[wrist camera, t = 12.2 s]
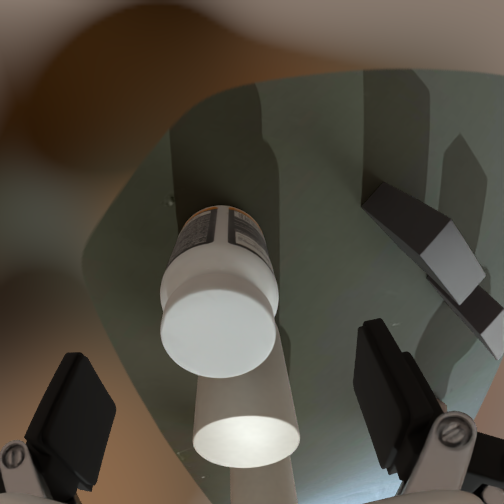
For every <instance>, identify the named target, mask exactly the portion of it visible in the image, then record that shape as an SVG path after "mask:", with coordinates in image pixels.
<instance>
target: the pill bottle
mask: <svg viewBox="0 0 504 504" xmlns="http://www.w3.org/2000/svg"><path fill="white" fill-rule="evenodd" d="M160 298H161V305H162V309H163V316H162V321H161V328H160V333H161V340H162V343H163V346H164V348H165V350H166V351H167V353H168V354H169V356H170V357H171V358H172V359H173V360H174V361H175V362H176V363H177V364H178V365H180V366H181V367H182V368H184V369H186V370H188V371H190V372H192V373H195V374H197V375H201V376H205V377H211V378H228V377H234V376H238V375H242V374H244V373H247V372H249V371H251V370H253V369H254V368H256V367H257V366H259V365H260V364H261V363H262V362H263V361H264V360H265V359H266V358H267V357H268V356H269V354H270V353H271V351H272V349H273V346H274V343H275V339H276V325H275V319H274V317H275V315H276V312H277V308H278V301H279V294H278V286H277V281H276V278H275V275H274V271H273V268H272V264H271V261H270V258H269V253H268V249H267V246H266V242H265V238H264V236H263V233H262V231H261V229H260V227H259V225H258V224H257V222H256V221H255V220H254V219H253V218H252V217H251V216H250V215H248V214H247V213H246V212H244V211H242V210H240V209H237V208H235V207H231V206H225V205H217V206H211V207H207V208H205V209H202V210H200V211H198V212H197V213H195V214H194V215H193V216H191V217H190V218H189V220H188V221H187V222H186V223H185V225H184V226H183V228H182V230H181V232H180V234H179V236H178V239H177V241H176V244H175V246H174V249H173V251H172V254H171V257H170V259H169V262H168V264H167V267H166V270H165V273H164V275H163V278H162V282H161V288H160Z"/></svg>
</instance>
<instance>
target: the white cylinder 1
mask: <svg viewBox="0 0 504 504" xmlns="http://www.w3.org/2000/svg"><path fill="white" fill-rule="evenodd" d="M275 325H276V323H275ZM299 442H300V433H299V428H298V423H297V418H296V413H295V408H294V403H293V398H292V393H291V388H290V383H289V378H288V373H287V368H286V364H285V359H284V354H283V349H282V344H281V339H280V335H279V330H278V327H277V325H276V339H275V343H274V346H273V349H272V351H271V353H270V354H269V356H268V357H267V358H266V359H265V360H264V361H263V362H262V363H261V364H260V365H259V366H257V367H256V368H254V369H253V370H251V371H249V372H247V373H244V374H242V375H238V376H234V377H228V378H211V377H205V376H201V375H198V383H197V394H196V405H195V417H194V429H193V446H194V448H195V450H196V451H197V452H198V454H199V455H201V456H202V457H203V458H205V459H206V460H208V461H210V462H213V463H215V464H218V465H222V466H227V467H234V468H253V467H260V466H265V465H269V464H272V463H275V462H278V461H280V460H282V459H284V458H286V457H287V456H289V455H290V454H291V453H293V452H294V451H295V449H296V448H297V447H298V445H299Z"/></svg>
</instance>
